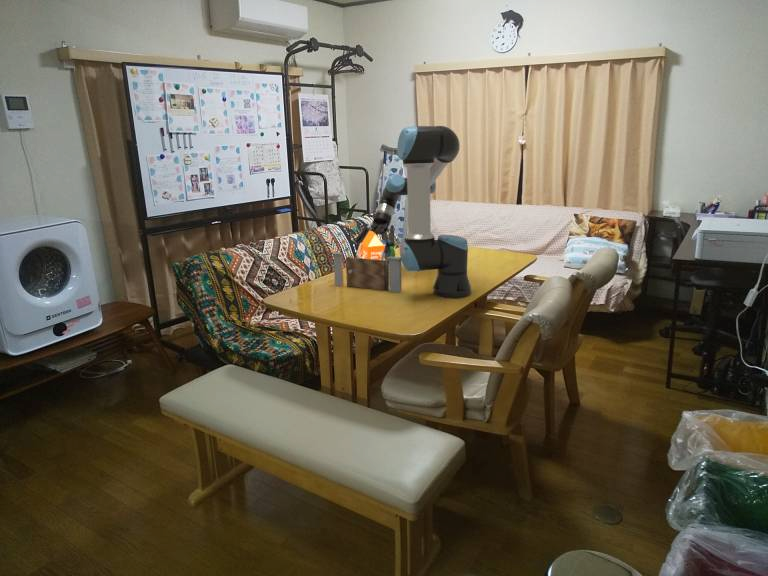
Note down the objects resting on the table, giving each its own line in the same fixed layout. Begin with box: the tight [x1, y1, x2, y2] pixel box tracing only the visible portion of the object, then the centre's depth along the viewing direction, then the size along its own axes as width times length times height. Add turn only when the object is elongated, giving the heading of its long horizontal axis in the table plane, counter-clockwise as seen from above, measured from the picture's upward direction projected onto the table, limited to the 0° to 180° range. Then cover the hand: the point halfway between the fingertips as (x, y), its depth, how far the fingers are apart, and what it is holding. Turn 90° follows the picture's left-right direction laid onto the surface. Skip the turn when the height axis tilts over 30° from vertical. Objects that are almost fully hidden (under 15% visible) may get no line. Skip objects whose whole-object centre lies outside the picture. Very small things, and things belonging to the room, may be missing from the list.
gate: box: [345, 256, 390, 291], centre depth 220 cm, size 19×2×12 cm, turn 66°
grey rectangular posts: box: [332, 251, 402, 293], centre depth 220 cm, size 30×3×14 cm, turn 66°
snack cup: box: [380, 239, 397, 264], centre depth 266 cm, size 16×10×10 cm
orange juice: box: [361, 230, 385, 260], centre depth 230 cm, size 8×9×20 cm
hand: (369, 257), depth 228 cm, fingers closed on orange juice, 11 cm apart
